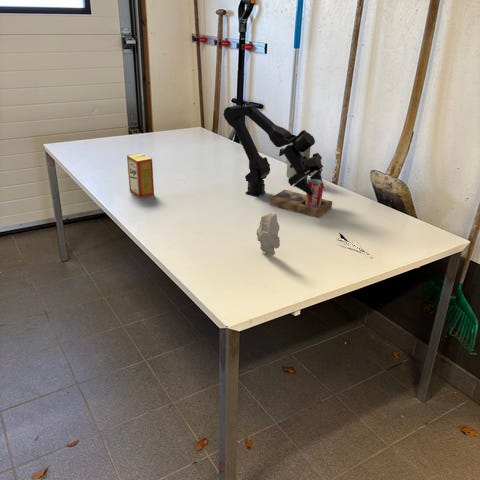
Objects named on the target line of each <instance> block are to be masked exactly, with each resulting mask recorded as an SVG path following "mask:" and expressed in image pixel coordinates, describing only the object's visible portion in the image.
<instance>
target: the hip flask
mask: <svg viewBox="0 0 480 480" xmlns="http://www.w3.org/2000/svg"><path fill="white" fill-rule="evenodd" d="M292 144H293V143H291V144H288V145H292ZM311 148H312V146H311V147H310V148H309V149H307V150H306V151H305V152H303V153H302V152H300V153H301V154H302V156H303V157H304V156H306V157H307V158H311ZM290 165H291V164H290V163H289V161H288V160H287V164H286V173H285V174H286V177H287V178H288V179H289V178H290V177H292V176H293V175H294V174H296V172H295V170H294V169H293V168H290ZM305 177H307V180H308V178H309V176H308V175H307V176H305ZM305 177H304V178H305Z"/></svg>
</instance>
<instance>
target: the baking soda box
mask: <svg viewBox="0 0 480 480" xmlns="http://www.w3.org/2000/svg"><path fill="white" fill-rule="evenodd" d="M126 158H127V159H126V160H127V161H126V162H127V171H128V185H129V186H128V187H129V192H130V191H131V193H132V192H133V193H132V194H134V195H135V194H136V195H135V196H137V197H138V196H139V197H138V198H141V197H142V198H146V197H149V196H150V197H151V196H154V195H155V188H154V186H155V185H154V168H153V159H152V158H151V157H149V156H147V155H146V154H144V153H135V154H129V155H126Z"/></svg>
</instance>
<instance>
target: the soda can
mask: <svg viewBox="0 0 480 480" xmlns="http://www.w3.org/2000/svg"><path fill="white" fill-rule="evenodd" d="M322 182H323V179H322V180H319V179H310V178H309V180H308V181H307V183H308V185H309V187H310V188H311V190H312V192H313V195H312V196H311V195H309V194H307V193H306V192H305V193H306V194H305V195H306V203H305V205H308V206H311V207H315V208H320V207H321V201H322V199H323V193H324V192H323V191H324V189H323V185H324V182H323V183H322Z"/></svg>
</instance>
